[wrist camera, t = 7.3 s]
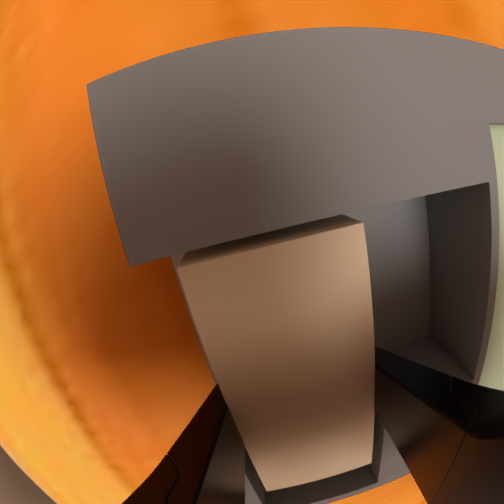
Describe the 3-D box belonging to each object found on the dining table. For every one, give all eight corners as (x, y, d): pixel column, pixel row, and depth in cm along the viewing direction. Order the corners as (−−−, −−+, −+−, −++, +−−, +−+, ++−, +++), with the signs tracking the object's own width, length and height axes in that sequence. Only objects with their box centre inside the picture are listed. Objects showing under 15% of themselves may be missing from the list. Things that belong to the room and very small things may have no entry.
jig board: (477, 340, 16) (536, 390, 9) (246, 423, 15) (255, 517, 9) (466, 85, 11) (553, 67, 5) (155, 124, 11) (86, 84, 5)
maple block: (345, 406, 12) (371, 463, 9) (258, 429, 12) (266, 491, 8) (318, 204, 10) (363, 222, 6) (195, 234, 9) (176, 268, 6)
